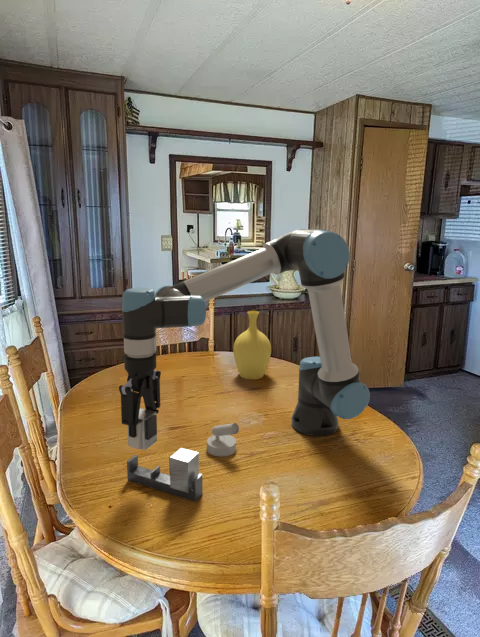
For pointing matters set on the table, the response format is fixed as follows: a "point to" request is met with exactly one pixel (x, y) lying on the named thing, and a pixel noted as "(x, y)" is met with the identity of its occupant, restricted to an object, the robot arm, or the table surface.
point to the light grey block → (147, 428)
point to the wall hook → (222, 440)
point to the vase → (252, 350)
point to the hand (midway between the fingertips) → (142, 442)
